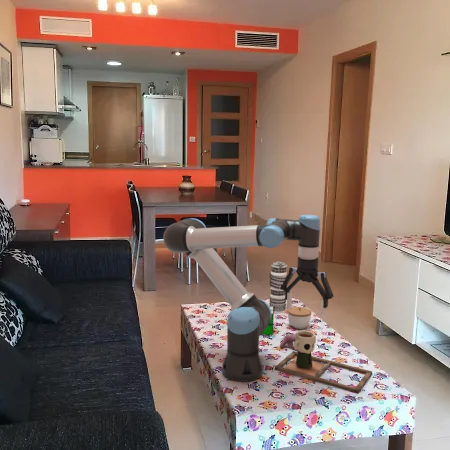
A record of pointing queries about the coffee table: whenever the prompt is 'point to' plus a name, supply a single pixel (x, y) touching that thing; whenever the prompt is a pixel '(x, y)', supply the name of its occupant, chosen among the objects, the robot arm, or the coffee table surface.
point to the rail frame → (312, 371)
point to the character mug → (304, 348)
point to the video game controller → (288, 340)
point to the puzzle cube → (270, 327)
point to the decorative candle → (277, 287)
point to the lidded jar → (299, 317)
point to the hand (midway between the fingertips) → (305, 312)
